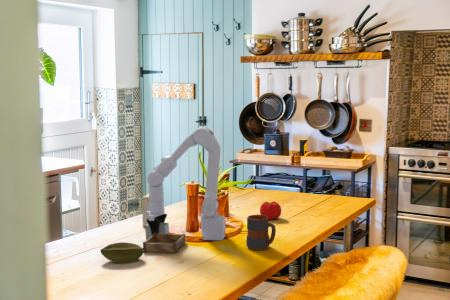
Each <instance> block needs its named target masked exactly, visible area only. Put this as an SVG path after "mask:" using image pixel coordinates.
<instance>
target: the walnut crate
mask: <svg viewBox="0 0 450 300" xmlns="http://www.w3.org/2000/svg"><path fill="white" fill-rule="evenodd" d="M185 245H186V233H182V234H181V233H179V234H177V233H169V234H158V233H154V234H153V235H152V236H151V237H149V238H148V239H145V241H143V242H142V248H143V249H144V250H143V253H145V254H146V253H148V254H150V253H151V254H152V253H153V254H169V255H176V254H177V253H178V252H179V251H180V250H181V249H182V248H183V247H184V246H185Z"/></svg>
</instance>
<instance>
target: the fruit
mask: <svg viewBox="0 0 450 300" xmlns="http://www.w3.org/2000/svg"><path fill="white" fill-rule="evenodd" d="M143 250H144V249H143V247H141V245H138V244H136V243H132V242H126V241H125V242H120V241H119V242H114V243H111V244H108V245H106V246H104V247H103V248H101V249H100V254H101V255H102V256H103V257H104V258H105V259H107V260H109V261H110V262H113V263H116V264H123V263H124V264H130V263H129V262H131V263H133V262H135V261H137V260H139V259H141V257H142V256H143V254H144V252H143Z"/></svg>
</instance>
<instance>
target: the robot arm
mask: <svg viewBox="0 0 450 300" xmlns="http://www.w3.org/2000/svg"><path fill="white" fill-rule="evenodd" d="M197 145H199V146H200V147H203V149H205V151H206V152H207V153H208V154H207V155H208V157H207V170H206V181H205V193H204V199H203V202H202V205H201V207H200V212H201V215H200V224H201V225H200V227H201V229H200V233H201V234H200V236H201V235H202V236H203V237H204V239H202V240H201V241H223V240H224V238H225V237H226V236H225V234H226V218H225V216H221V215H220V213H219V212H218V209H219V206H220V205H219V201H218V184H219V173H220V160H221V150H222V148H221V145H220V143H219V141H218V140H217V138H216V136H215V134H214V132H213V131H212V130H211V129H210V128H209V127H208V126H206V125H205V126H204V125H202V126H199V127H198V128H196V130H194V131H193V132H192V133H191V134H189V135H188V136H187V137H186V138H185V139H184V140H183V141H182V143H181V144H180V145H179V146H178V147H177V148H176V149H175V150H174V152H173V153H172V154H171V155H166V156H165V157H162V158H161V159H160V162H159V163H158V164H157V166H154V167H153V168H152V169H153V171H151V172H149V174H148V176H147V183H148V194H149V209H150V211H147V214H149V218H148V219H147V223H148V224H149V226H150V229H151V233H152V235H153V234H154V233H159V225H160V223H166V222H165V221H166V219H167V216H168V214H167V213H165V212H166V211H165V200H164V197H165V196H164V183H163V182H164V181H165V178H167V177H168V176H170V174H171V173H172V172H173V171H174V169H176V167H177V166H178V160H179V159H180V158H181V157H182V156H183V155H184V154H185V153H186V152H187V151H188V150H189V149H190V148H192V147H196V146H197Z"/></svg>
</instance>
